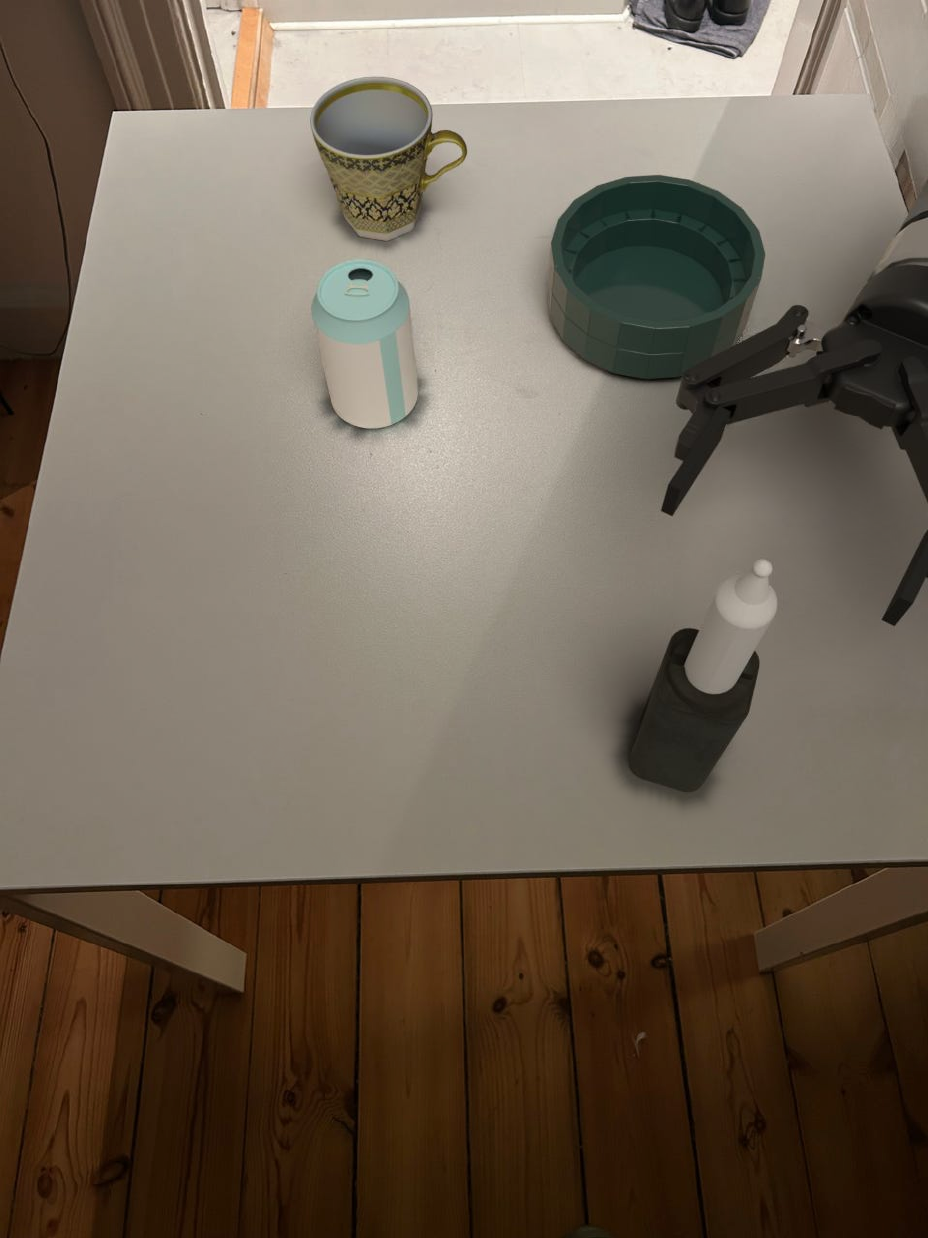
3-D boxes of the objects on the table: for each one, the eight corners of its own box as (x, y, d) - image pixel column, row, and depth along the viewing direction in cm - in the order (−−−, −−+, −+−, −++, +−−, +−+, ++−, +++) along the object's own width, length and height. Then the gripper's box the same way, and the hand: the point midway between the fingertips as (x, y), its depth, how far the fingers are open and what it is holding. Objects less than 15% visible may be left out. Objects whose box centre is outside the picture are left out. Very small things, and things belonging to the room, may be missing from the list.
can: (315, 390, 81) (289, 278, 70) (389, 351, 82) (374, 237, 72) (360, 447, 78) (339, 341, 67) (435, 407, 80) (426, 296, 69)
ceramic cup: (313, 245, 88) (293, 147, 79) (346, 169, 92) (330, 68, 83) (455, 268, 86) (451, 170, 77) (481, 190, 91) (480, 88, 82)
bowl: (777, 283, 85) (799, 222, 79) (689, 416, 79) (705, 360, 73) (607, 212, 89) (615, 149, 83) (510, 332, 83) (512, 273, 77)
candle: (700, 797, 65) (812, 629, 42) (624, 773, 65) (695, 596, 43) (716, 727, 67) (832, 532, 44) (643, 705, 68) (720, 502, 45)
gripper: (1085, 428, 63) (969, 690, 55) (727, 279, 69) (578, 494, 62) (1156, 346, 56) (1035, 631, 48) (753, 189, 63) (589, 418, 55)
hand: (779, 555), depth 55 cm, fingers open, 13 cm apart
